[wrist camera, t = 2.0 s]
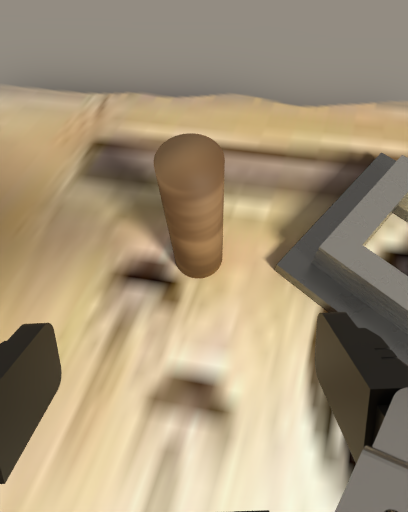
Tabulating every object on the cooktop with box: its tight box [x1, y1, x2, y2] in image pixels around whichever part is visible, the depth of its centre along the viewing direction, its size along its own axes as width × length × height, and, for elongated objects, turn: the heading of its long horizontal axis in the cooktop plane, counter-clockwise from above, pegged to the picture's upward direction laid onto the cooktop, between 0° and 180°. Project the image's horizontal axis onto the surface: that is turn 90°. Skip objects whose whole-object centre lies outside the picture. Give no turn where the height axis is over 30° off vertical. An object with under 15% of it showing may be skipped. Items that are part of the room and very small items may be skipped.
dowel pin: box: [154, 134, 225, 278], centre depth 24 cm, size 4×4×11 cm
